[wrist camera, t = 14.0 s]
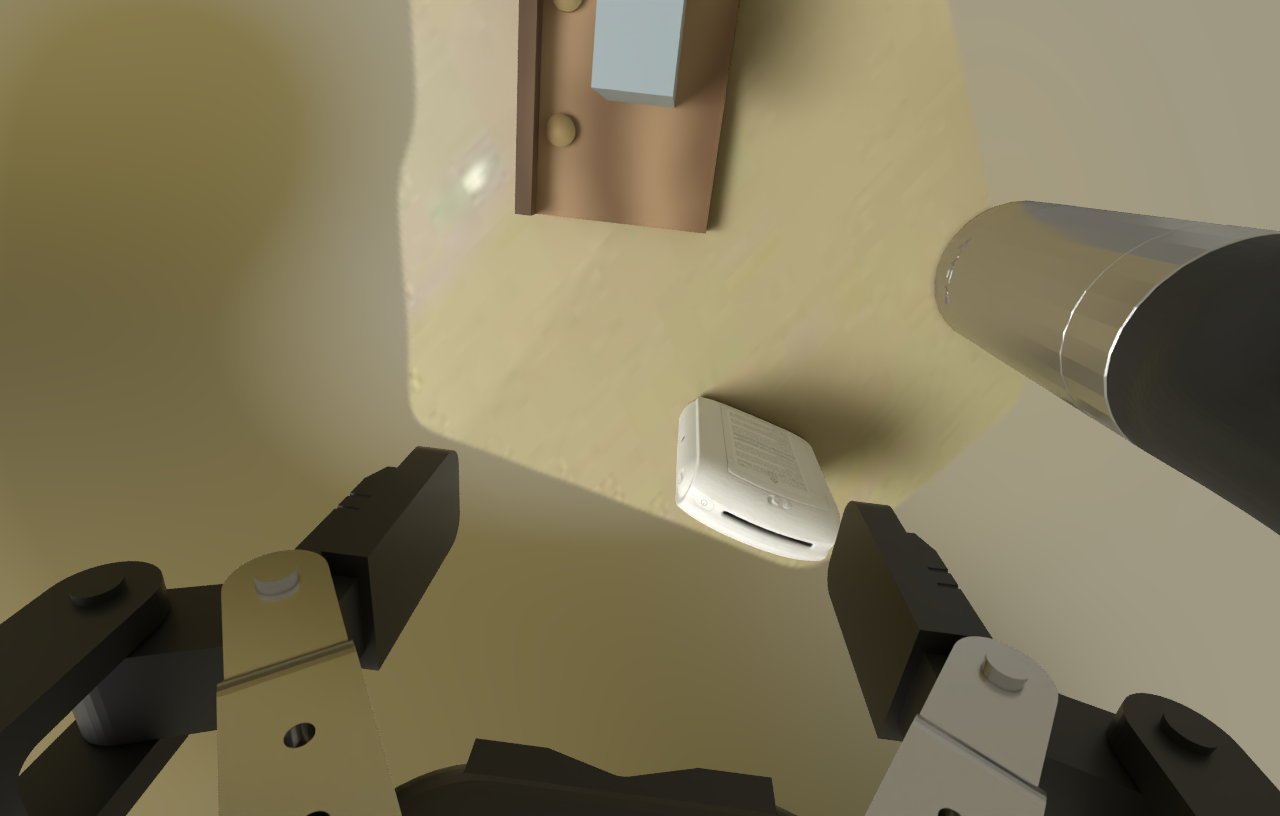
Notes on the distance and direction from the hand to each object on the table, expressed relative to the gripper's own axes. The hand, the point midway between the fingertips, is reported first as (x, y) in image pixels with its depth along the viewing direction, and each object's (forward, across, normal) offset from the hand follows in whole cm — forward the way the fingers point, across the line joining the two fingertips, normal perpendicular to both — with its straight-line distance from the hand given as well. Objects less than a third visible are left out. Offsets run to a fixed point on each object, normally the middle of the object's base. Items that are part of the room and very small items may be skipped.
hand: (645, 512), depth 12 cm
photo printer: (+30, -7, +12) cm, 33 cm away
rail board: (+30, +4, -11) cm, 32 cm away
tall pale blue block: (+29, +3, -13) cm, 32 cm away
